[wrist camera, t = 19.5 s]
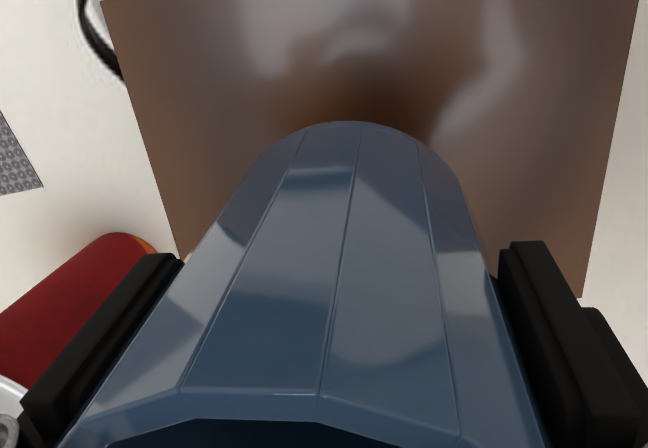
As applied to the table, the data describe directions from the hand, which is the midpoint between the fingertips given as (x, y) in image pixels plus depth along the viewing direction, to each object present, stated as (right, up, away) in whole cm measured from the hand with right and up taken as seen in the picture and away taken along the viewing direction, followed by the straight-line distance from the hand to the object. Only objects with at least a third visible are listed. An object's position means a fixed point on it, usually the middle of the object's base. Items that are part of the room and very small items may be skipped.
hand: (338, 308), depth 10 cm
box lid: (+1, +4, +8) cm, 9 cm away
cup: (0, +1, +3) cm, 3 cm away
